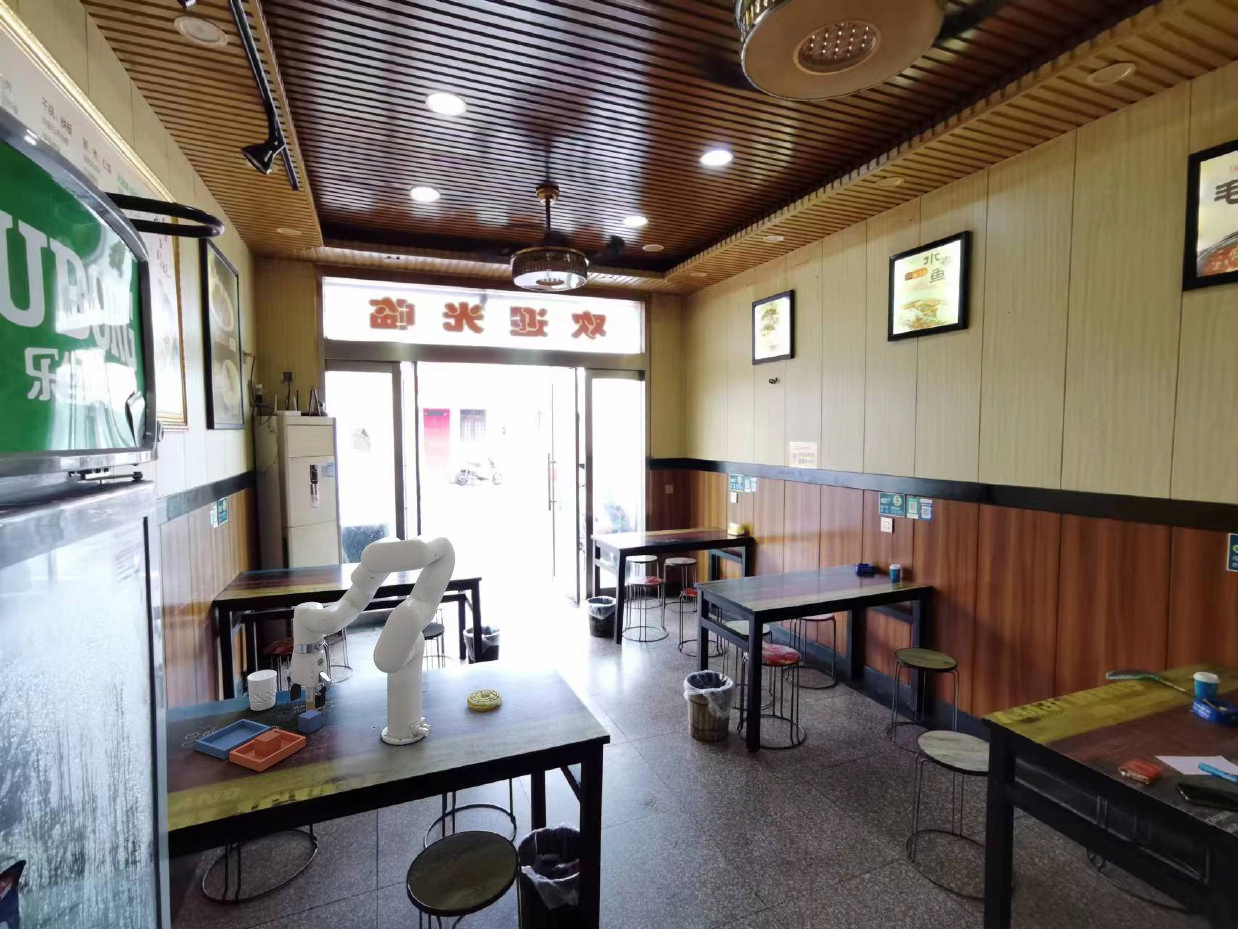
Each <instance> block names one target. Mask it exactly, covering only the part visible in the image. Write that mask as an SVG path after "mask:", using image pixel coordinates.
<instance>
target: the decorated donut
mask: <svg viewBox="0 0 1238 929" xmlns="http://www.w3.org/2000/svg"><path fill="white" fill-rule="evenodd" d="M502 699H503V696H502V694H501V693H500V691H498V690H495V689H481V690H480V689H479V690H475V691H473V692H471V693H470V694H468V695H467V699H466V702H467V705H468V707H469V708H470V709H471V710H473V711H474V712H491V711H492V710H494V709H497V707H499V706H500V705H501V703H502Z"/></svg>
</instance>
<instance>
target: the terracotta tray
mask: <svg viewBox="0 0 1238 929" xmlns="http://www.w3.org/2000/svg"><path fill="white" fill-rule="evenodd" d="M271 731H272V732H275V733H279V734H281V750H279V751H277V752H275V753H273V754H271V755H270V756H268V757H263V756H260V755H256V754H255V741H254V740H252V741H251V742H249V743H247V744H245V745H243V746H241V747H239V748H237V749H235V750H233V751H231V752H229V758H228V759H229V762H230V763H233V764H236V765H239V766H242V767H245V768H248V769H251V770H254V771H257V772H260V773H261V772H263V771H265V770H267V769H268V768H269V767H271V766H273V765H275V764H277V763H278V762H280V761H282V760H284V759H286V758H288V757H289V756H291V755H292V754H294V753H296V752H298V751H300V750H301V749H302V748H305V747H306V745H307V737H306V736H304V735H300V734H296V733H293V732H290V731H286V730H283V729H279V728H274V729H271Z"/></svg>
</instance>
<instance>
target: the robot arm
mask: <svg viewBox="0 0 1238 929" xmlns="http://www.w3.org/2000/svg"><path fill="white" fill-rule="evenodd" d="M455 566H456V553H455V549H454V546H453V543H452V542H451V540H450V539H449V537H447V536H446V535H445V534H444V533H442V532H441V531H440V532H439V531H434V530H432V531H431V530H430V531H426V532H424V533H423V532H422V533H421V534H420V535H417V536H415V537H413V538H410V539H402V540H401V539H400V538H398V537H394V536H385V537H382V538H380V539H377V540H375V541H373V542H370V543H368V544H367V545H366V546H365V547H364V549H363V550H362V552H361V554H360V563H359V564H357V566H356V567H355V569H353V571H352V572H351V574H350V581H351V585H350V587H349V588H348V590H346V592H345V593H344V594H343V595H342V597H341V598H339V600H337V601H336V602H334V603H332V604H330V605H329V606H325V607H324V606H323V604H322V603H320V602H315V601H309V602H303V603H299V604H298V605H296V606H295V607H294V611H293V651H292V656H291V661H290V667H289V668H287V669H285V670H284V673H285V676H286V680H287V682H288V687H289V688H290V690H289V701H290V702H294V701H296V700H299V699H300V698H302V686H303V687H305V686H307V687H311V688H314V690H315V692H316V694H317V695H315V708H316V709H318V708H320V707H321V708H322V707H324V706H325V705H326V697H327V696H326V695H327V692H328V690H330V688H331V685H332V683H333V680H332V679H331V678H330V677H329V675H328V661H327V655H326V651H325V650H324V648H325V647H324V636H325V635H326V636H329V635H334V634H336V633H338V632H339V631H341V630H342V629H343V628H345V627H347V626H348V625H350V624H351V623H353V622H354V621H355V620H356V619H357V618H358V617H359V616H360V615H361V614H362V613H363V612H364V611H365V609H366V608H367V607H368V605H369V604H370V603H371V602H372V600H373V598H374V596H375V595H376V593H377V591H378V589H379V588H380V587H381V586H382V585H383V583H385V581H386V580H387V579H388V577H389V576H390V575H391V574H393V573H399V572H400V573H401V572H410V571H417V570H421V569H422V570H421V571H420V573H419V575H418V577H417V579H416V581H415V584H414V586H413V588H412V590H411V592H410V593H409V595H408V596H407V598H406V599H405V600H403V601H402V602H401V603H399V604H398V605H396V607H394V609H393V610H392V611H391V613H390V614H389V615H388V618H387V619H386V622H385V624H384V626H383V628H382V631H381V633H380V635H379V637H378V640H377V642H376V644H375V646H374V650H373V654H372V659H373V663H374V665H375V667H376V668H377V670H379V672H381V673H384V674H386V725H387V726H385V727H384V728H383V729H382V730H381V734H380V735H381V740H382V741H383V742H385V743H386V744H389V745H397V746H398V745H407V744H412V743H416V741H419V740H421V739H422V738H423V737H428V736H429V735H430V732H431V730H432V727H433V726H432V725H430V724H427V723H426V717H424V716H423V664H424V655H425V647H426V641H425V636H424V633H423V632H422V631H423V630H424V629H426V628H427V627H428V626H429V625H430V624H431V623H432V621H433V620H434V618H435V616H436V613H437V611H438V608H439V607H440V604H441V602H442V600H443V597H444V596H445V592H446V590H447V588H448V585H449V583H450V581H451V579H452V576H453V573H454V570H455ZM318 682H319V683H318ZM317 683H318V684H317ZM318 686H321V689H320V690H319V688H318Z"/></svg>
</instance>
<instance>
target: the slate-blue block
mask: <svg viewBox="0 0 1238 929" xmlns="http://www.w3.org/2000/svg"><path fill="white" fill-rule="evenodd" d="M322 727H323V712H322V711H319V710H318V711H315V710H309V711H305V712H303V713H301V714H299V715H297V730H298V732H302V733H306V734H312V733H313V732H315V731H317V730H319V729H320V728H322Z"/></svg>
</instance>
